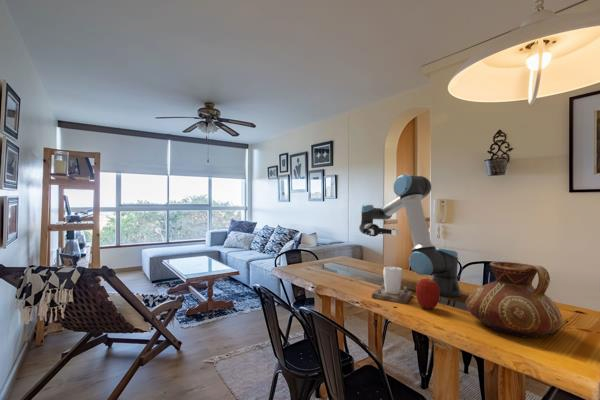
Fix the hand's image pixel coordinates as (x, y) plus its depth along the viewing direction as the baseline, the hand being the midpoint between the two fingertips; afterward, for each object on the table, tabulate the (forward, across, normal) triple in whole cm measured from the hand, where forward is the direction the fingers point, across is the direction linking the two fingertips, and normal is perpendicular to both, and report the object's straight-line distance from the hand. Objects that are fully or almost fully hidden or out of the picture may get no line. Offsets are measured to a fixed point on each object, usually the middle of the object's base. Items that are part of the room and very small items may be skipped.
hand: (385, 232), depth 172 cm
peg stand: (+18, +3, -30) cm, 35 cm away
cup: (+18, +3, -28) cm, 34 cm away
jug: (+56, -28, -30) cm, 70 cm away
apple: (+35, -6, -30) cm, 47 cm away
